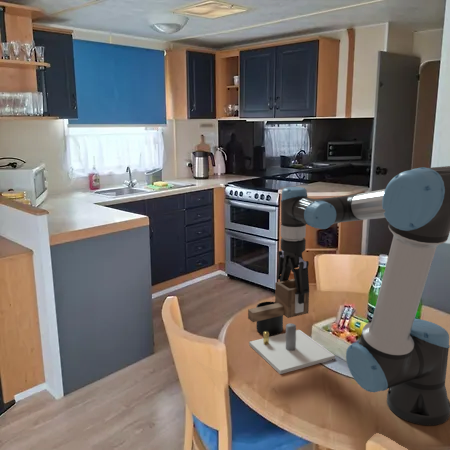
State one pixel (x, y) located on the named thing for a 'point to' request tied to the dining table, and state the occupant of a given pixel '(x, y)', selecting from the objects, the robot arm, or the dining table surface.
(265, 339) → the dowel pin
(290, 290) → the brown wooden bracket
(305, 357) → the post board
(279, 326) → the mug
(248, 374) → the dining table surface
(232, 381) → the dining table surface
